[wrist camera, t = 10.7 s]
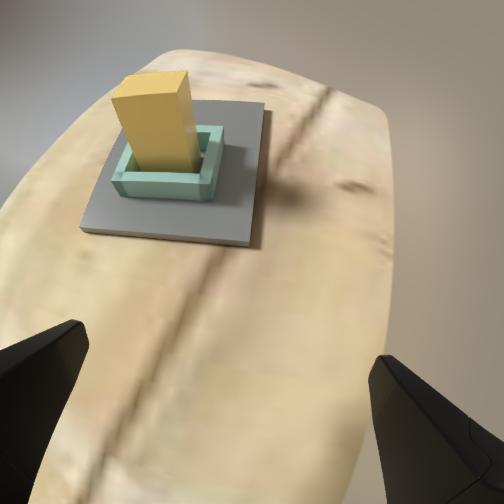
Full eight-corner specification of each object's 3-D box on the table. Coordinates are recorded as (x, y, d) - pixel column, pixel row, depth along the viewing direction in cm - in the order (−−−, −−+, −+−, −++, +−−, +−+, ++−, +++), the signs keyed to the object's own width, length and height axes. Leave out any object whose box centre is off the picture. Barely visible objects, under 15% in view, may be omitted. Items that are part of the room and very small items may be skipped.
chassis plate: (249, 246, 24) (250, 226, 21) (83, 231, 24) (66, 213, 21) (264, 109, 31) (265, 86, 28) (138, 108, 31) (132, 87, 28)
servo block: (195, 181, 25) (176, 92, 16) (144, 180, 25) (110, 98, 16) (201, 157, 26) (187, 70, 17) (153, 156, 26) (126, 76, 17)
